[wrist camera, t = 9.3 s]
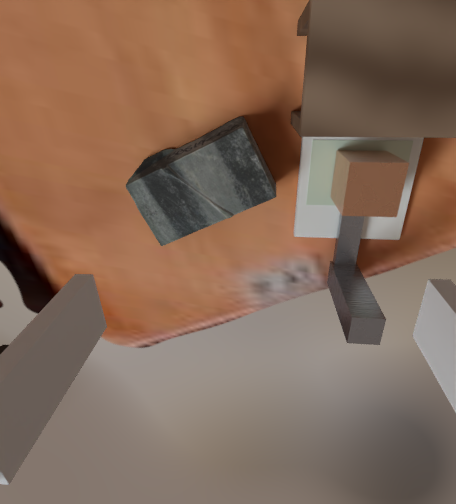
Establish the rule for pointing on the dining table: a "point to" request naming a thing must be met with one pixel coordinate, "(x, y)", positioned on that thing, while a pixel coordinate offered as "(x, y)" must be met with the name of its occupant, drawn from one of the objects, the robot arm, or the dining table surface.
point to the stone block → (201, 182)
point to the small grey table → (378, 69)
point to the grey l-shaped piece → (349, 233)
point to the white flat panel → (321, 176)
